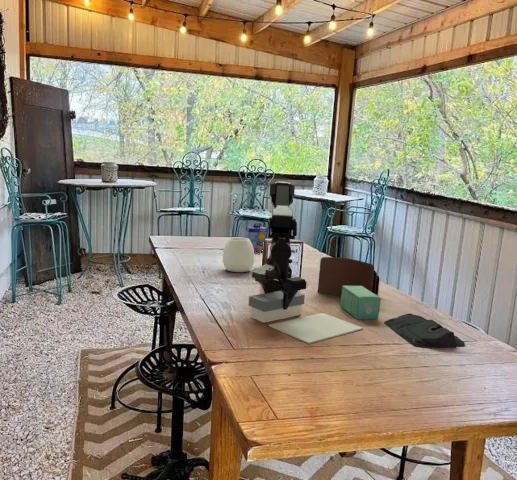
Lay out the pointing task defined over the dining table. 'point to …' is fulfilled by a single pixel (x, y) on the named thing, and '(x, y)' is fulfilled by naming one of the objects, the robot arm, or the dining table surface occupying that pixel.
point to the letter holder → (346, 275)
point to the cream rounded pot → (238, 254)
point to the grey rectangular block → (273, 301)
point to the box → (360, 302)
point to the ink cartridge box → (256, 236)
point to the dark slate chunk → (423, 332)
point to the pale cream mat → (315, 327)
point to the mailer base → (275, 313)
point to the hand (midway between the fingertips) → (276, 306)
